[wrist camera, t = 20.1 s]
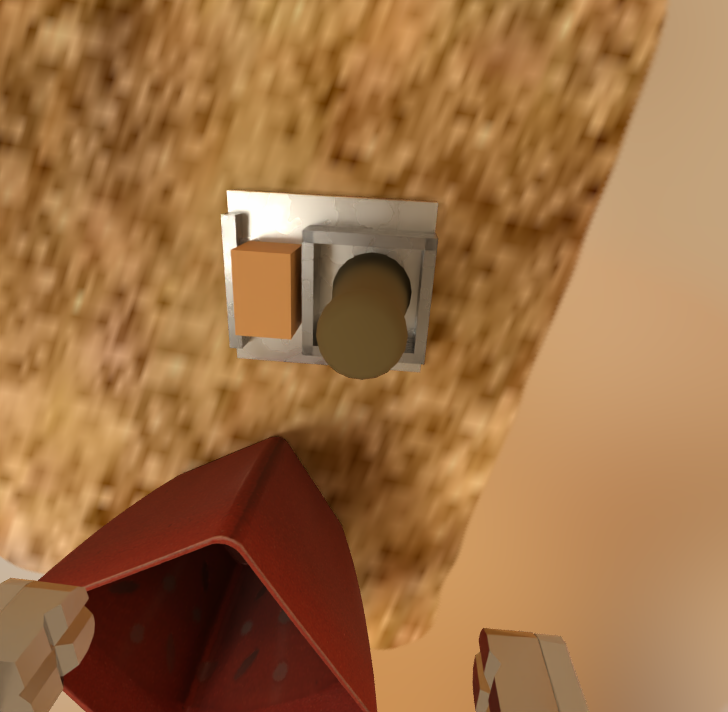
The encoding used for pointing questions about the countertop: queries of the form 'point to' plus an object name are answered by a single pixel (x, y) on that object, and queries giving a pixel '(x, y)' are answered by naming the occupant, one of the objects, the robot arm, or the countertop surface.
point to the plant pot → (223, 597)
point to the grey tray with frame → (333, 259)
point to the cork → (365, 317)
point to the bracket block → (267, 289)
